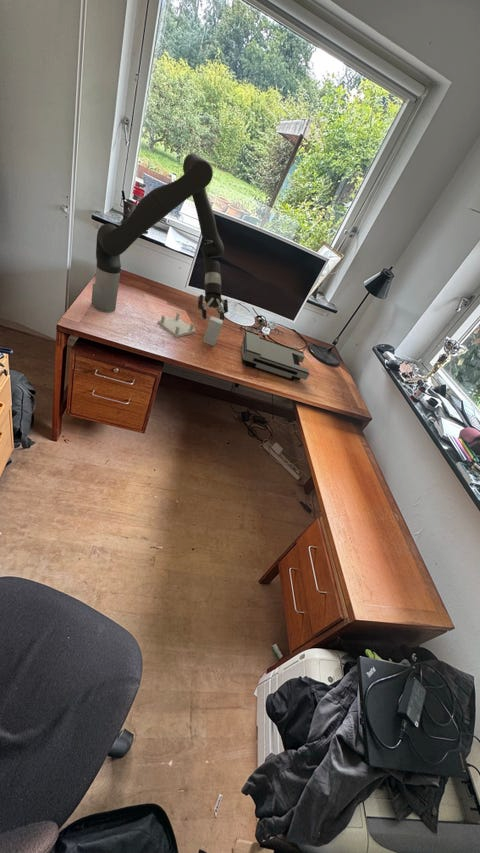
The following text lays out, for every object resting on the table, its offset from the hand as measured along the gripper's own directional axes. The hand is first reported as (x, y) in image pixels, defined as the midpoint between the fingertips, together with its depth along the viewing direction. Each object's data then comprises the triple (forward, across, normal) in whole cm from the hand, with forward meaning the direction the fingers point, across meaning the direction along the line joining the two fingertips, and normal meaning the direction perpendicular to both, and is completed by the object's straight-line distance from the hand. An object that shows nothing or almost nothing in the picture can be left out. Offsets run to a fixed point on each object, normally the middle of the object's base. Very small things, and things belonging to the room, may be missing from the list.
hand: (213, 320), depth 158 cm
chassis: (+3, -14, +11) cm, 18 cm away
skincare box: (+9, 0, +5) cm, 11 cm away
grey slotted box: (+19, +29, -4) cm, 35 cm away
